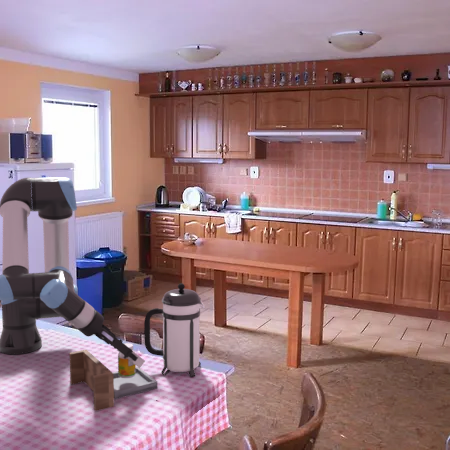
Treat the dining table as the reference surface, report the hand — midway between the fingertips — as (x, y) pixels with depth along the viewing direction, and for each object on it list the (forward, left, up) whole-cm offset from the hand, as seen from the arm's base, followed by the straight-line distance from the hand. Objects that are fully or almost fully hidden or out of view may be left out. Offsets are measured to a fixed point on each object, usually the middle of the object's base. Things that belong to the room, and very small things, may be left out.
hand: (137, 361), depth 176 cm
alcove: (0, -15, -7) cm, 17 cm away
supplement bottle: (0, -4, -4) cm, 6 cm away
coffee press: (-2, +15, -8) cm, 17 cm away
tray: (0, -4, -7) cm, 8 cm away
